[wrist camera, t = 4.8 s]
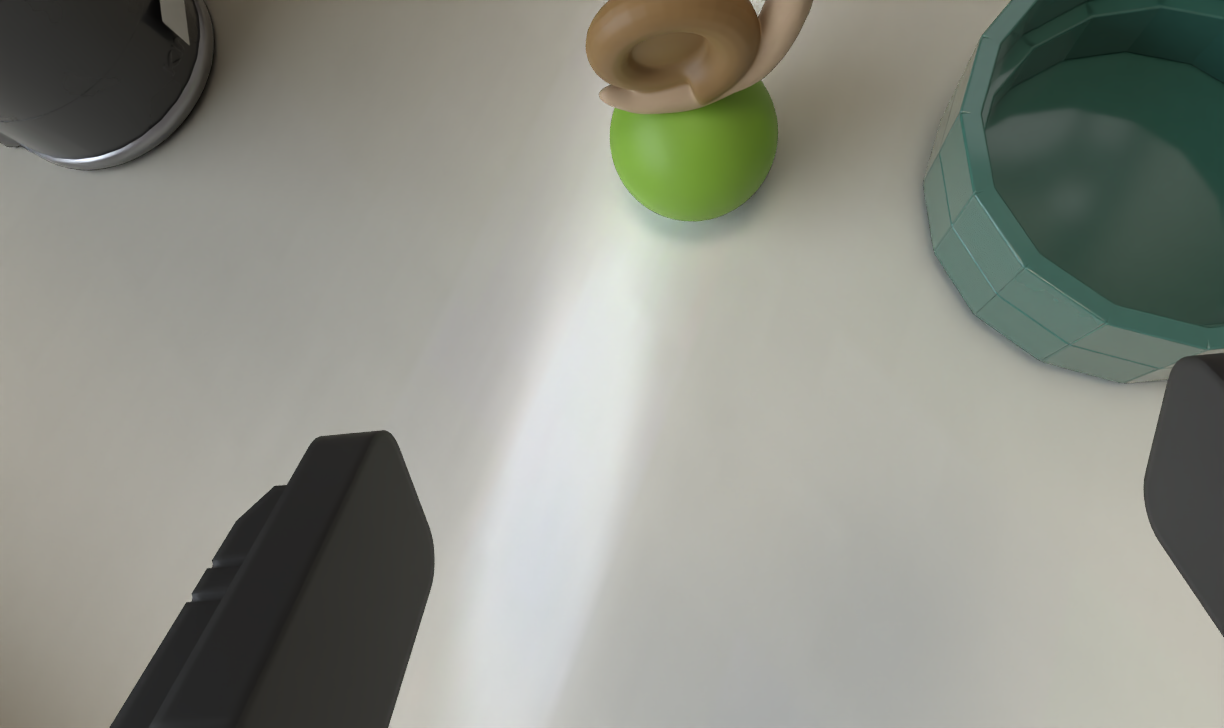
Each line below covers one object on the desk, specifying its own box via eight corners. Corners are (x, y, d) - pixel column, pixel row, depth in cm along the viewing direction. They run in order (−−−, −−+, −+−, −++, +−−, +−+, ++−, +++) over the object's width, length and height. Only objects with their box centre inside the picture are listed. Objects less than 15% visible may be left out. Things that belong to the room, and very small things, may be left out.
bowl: (952, 402, 27) (1004, 369, 22) (897, 62, 30) (933, -42, 24) (1369, 364, 25) (1536, 319, 20) (1273, 8, 28) (1399, -116, 23)
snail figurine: (816, 222, 29) (868, 10, 17) (634, 257, 30) (565, 77, 18) (786, 82, 30) (815, -205, 18) (612, 119, 31) (533, -134, 19)
